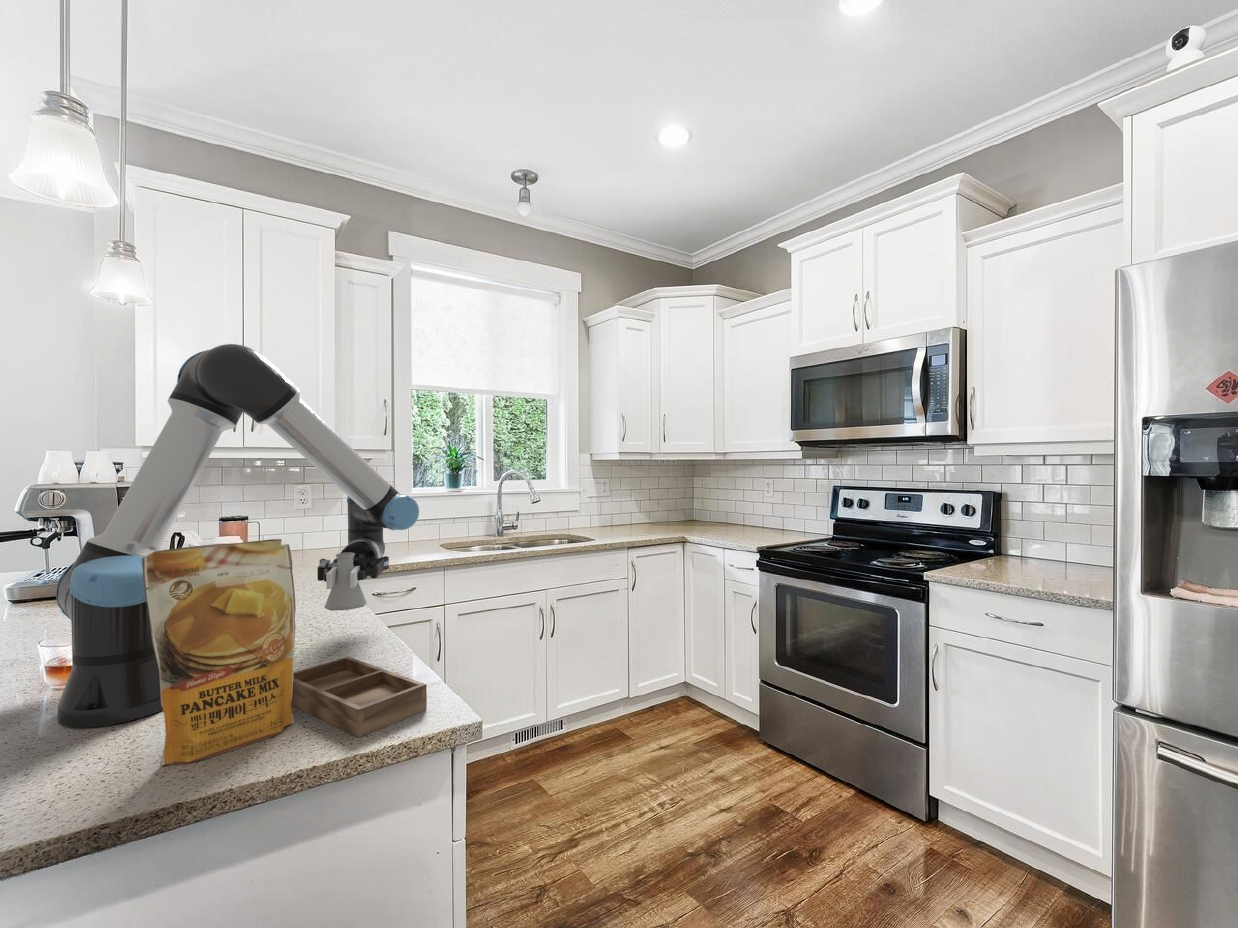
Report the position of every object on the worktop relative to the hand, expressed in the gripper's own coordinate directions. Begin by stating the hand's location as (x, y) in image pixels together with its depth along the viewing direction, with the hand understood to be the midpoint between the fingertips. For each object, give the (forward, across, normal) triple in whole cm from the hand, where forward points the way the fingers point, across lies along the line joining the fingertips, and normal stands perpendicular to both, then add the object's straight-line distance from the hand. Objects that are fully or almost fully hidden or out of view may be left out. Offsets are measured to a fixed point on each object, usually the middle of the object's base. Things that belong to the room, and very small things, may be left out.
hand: (340, 580), depth 108 cm
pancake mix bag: (+21, +11, -18) cm, 30 cm away
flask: (-5, 0, -6) cm, 8 cm away
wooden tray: (+12, -4, -18) cm, 22 cm away
